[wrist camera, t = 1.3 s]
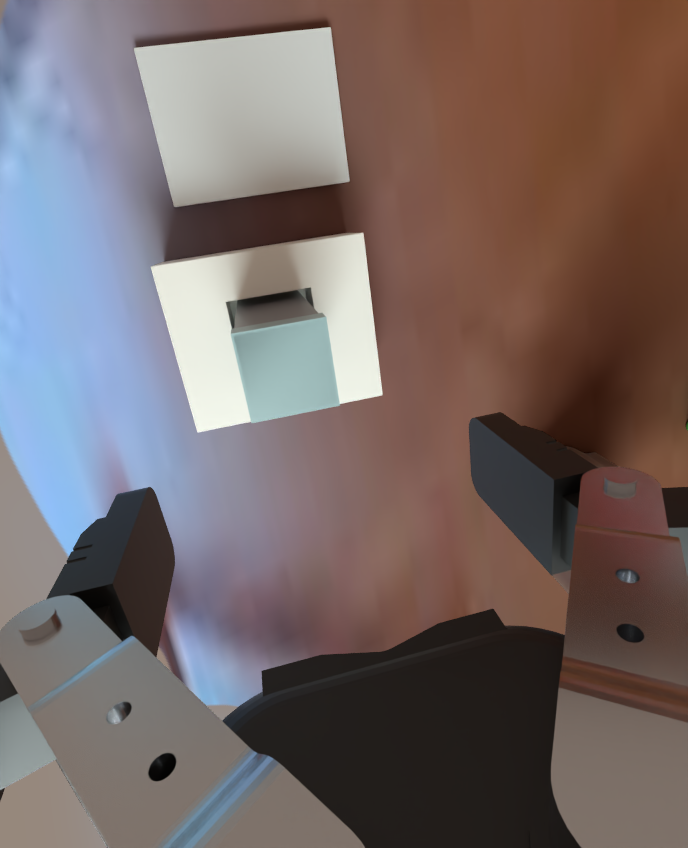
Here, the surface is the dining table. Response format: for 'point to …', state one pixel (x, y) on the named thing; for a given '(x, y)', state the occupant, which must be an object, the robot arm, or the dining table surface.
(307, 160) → the mat
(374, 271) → the dining table surface
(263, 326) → the plug
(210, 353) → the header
